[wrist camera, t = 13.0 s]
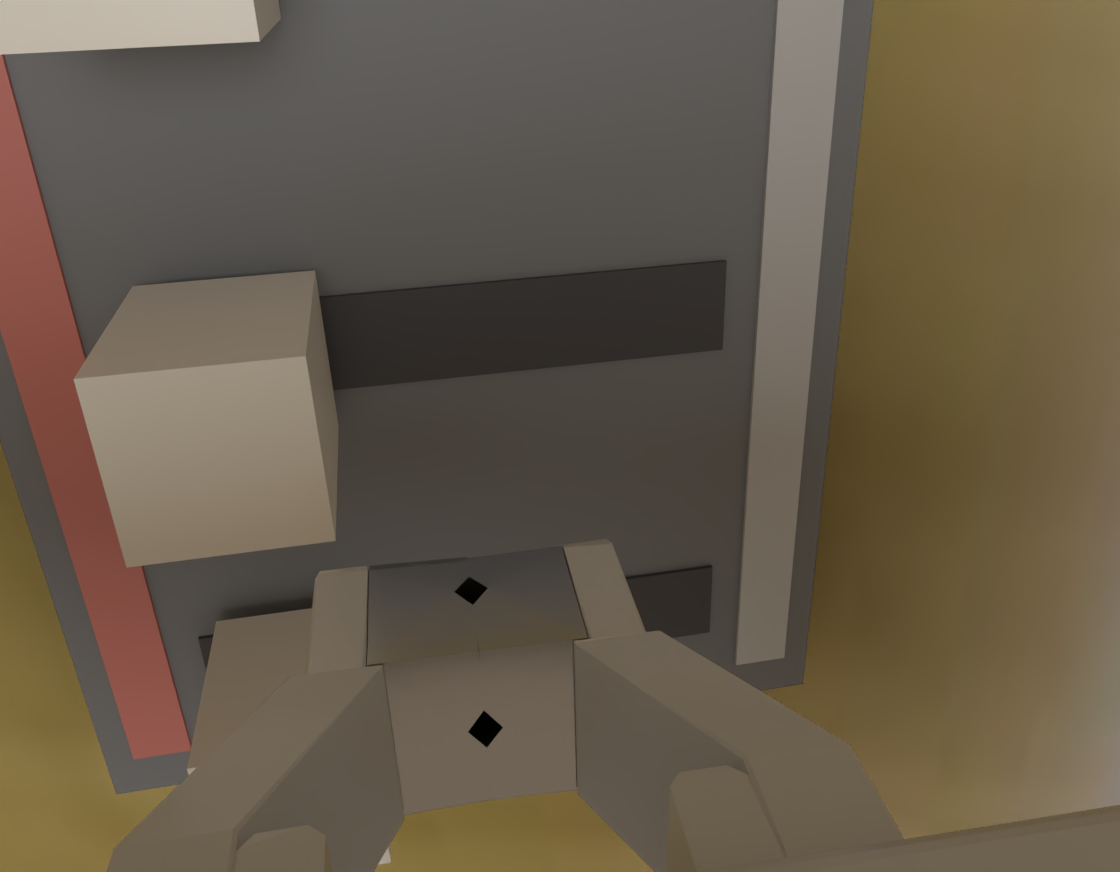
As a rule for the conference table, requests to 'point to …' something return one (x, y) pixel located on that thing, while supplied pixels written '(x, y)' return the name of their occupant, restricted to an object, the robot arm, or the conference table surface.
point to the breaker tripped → (214, 418)
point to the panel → (454, 304)
